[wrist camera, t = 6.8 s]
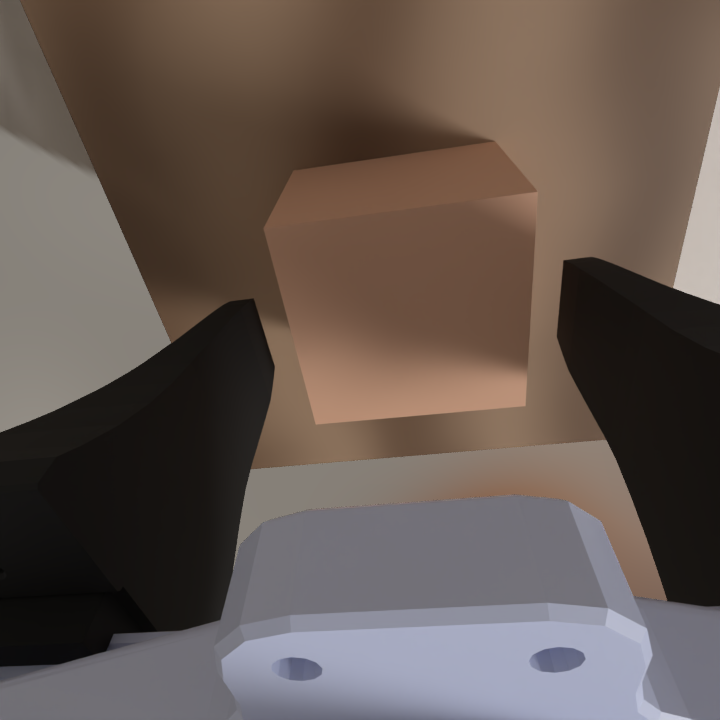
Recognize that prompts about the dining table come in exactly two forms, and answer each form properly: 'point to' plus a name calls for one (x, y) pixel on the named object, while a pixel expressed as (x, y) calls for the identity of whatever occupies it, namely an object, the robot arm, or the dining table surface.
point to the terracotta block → (408, 282)
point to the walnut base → (384, 139)
